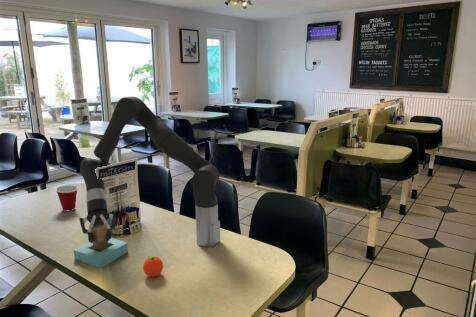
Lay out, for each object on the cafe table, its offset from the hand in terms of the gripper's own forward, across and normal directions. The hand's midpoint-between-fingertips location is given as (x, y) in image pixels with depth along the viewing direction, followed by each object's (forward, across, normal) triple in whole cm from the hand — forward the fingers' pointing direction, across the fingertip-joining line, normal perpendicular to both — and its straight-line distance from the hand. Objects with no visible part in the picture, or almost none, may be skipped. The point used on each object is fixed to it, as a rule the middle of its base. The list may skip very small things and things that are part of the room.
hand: (100, 241), depth 136 cm
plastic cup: (-37, -14, +47) cm, 61 cm away
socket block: (+4, 0, +6) cm, 7 cm away
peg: (+2, 0, +5) cm, 5 cm away
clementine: (+19, +17, -9) cm, 27 cm away
